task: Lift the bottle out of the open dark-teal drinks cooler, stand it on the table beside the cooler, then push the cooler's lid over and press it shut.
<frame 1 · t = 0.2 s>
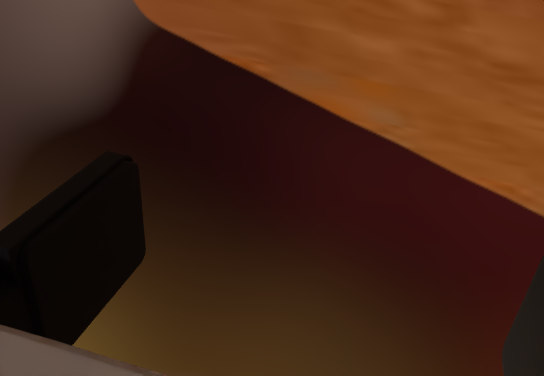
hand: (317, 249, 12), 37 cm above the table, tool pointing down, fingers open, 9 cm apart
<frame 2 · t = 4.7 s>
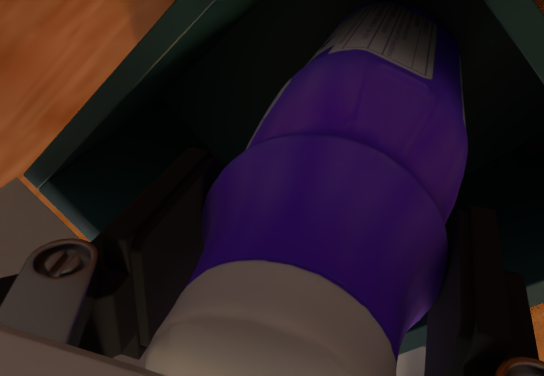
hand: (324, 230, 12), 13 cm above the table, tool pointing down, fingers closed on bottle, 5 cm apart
cooler: (348, 98, 24), on the table
bottle: (382, 76, 22), point 1 cm above the table, touching cooler, gripper
when the fingers open (12 cm above the table, at t = 13.5 s): bottle stays where it is, on the table.
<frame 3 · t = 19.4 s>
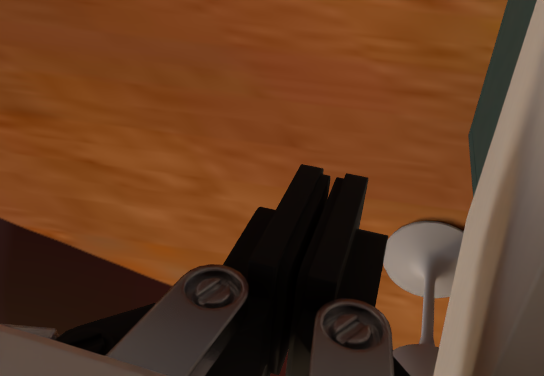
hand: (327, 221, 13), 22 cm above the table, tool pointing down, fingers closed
cooler lid: (509, 187, 14), point 19 cm above the table, hinge at 97.6°, touching gripper
wineglass: (430, 258, 39), on the table
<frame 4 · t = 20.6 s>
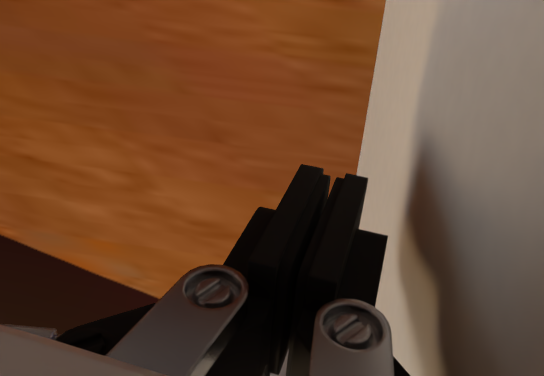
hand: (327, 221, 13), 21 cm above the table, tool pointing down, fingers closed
cooler lid: (411, 190, 14), point 19 cm above the table, hinge at 78.0°, touching gripper
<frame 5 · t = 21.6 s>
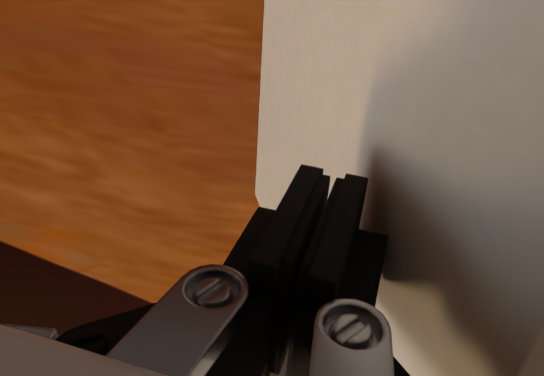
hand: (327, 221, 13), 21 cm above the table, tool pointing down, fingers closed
cooler lid: (335, 159, 15), point 18 cm above the table, hinge at 59.4°, touching gripper
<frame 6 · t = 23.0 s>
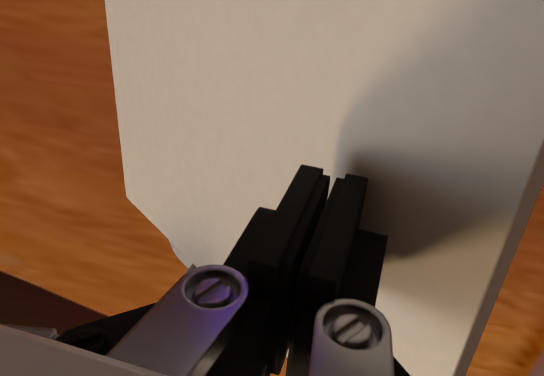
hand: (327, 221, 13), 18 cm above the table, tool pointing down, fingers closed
cooler lid: (241, 139, 16), point 15 cm above the table, hinge at 33.4°, touching gripper
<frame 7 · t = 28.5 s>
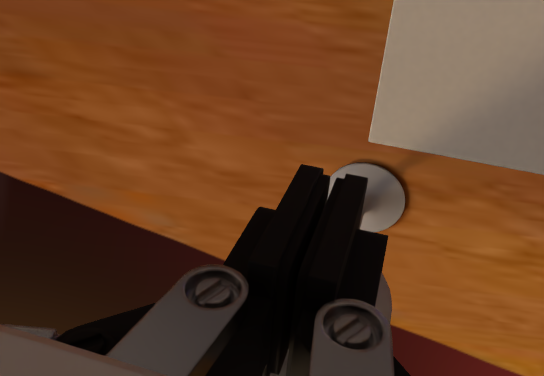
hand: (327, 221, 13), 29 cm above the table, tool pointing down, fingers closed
wineglass: (364, 196, 46), on the table
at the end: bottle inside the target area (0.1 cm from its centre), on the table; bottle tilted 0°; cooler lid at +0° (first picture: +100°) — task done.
